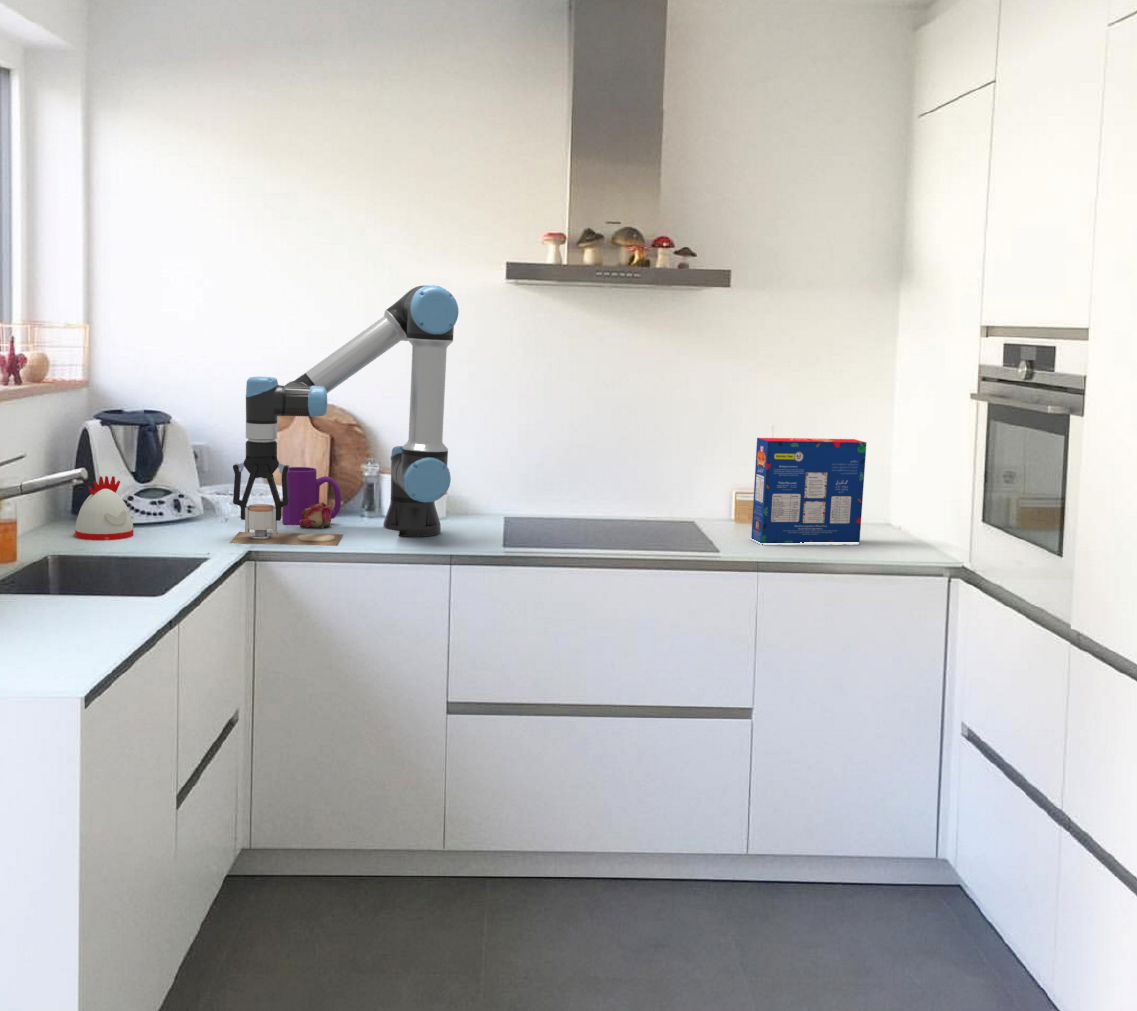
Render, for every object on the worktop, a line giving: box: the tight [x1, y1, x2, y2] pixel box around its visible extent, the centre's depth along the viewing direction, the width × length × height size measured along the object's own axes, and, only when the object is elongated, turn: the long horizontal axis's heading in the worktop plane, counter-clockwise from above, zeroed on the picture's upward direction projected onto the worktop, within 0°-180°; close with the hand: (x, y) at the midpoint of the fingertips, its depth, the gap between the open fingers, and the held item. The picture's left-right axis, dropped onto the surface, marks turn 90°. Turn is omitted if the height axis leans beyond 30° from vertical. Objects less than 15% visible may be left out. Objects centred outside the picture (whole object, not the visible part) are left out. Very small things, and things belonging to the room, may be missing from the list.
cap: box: [248, 503, 275, 531], centre depth 345 cm, size 6×6×6 cm
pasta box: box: [750, 437, 867, 543], centre depth 376 cm, size 28×8×28 cm, turn 103°
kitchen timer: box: [74, 475, 134, 541], centre depth 349 cm, size 14×14×15 cm
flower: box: [298, 502, 333, 529], centre depth 365 cm, size 10×9×8 cm
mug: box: [281, 466, 342, 526], centre depth 376 cm, size 9×16×15 cm, turn 97°
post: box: [251, 530, 271, 540], centre depth 345 cm, size 5×5×7 cm
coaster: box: [298, 533, 335, 542], centre depth 347 cm, size 9×9×1 cm
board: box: [229, 531, 344, 547], centre depth 347 cm, size 26×16×2 cm, turn 95°
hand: (261, 533), depth 346 cm, fingers closed on cap, 6 cm apart
